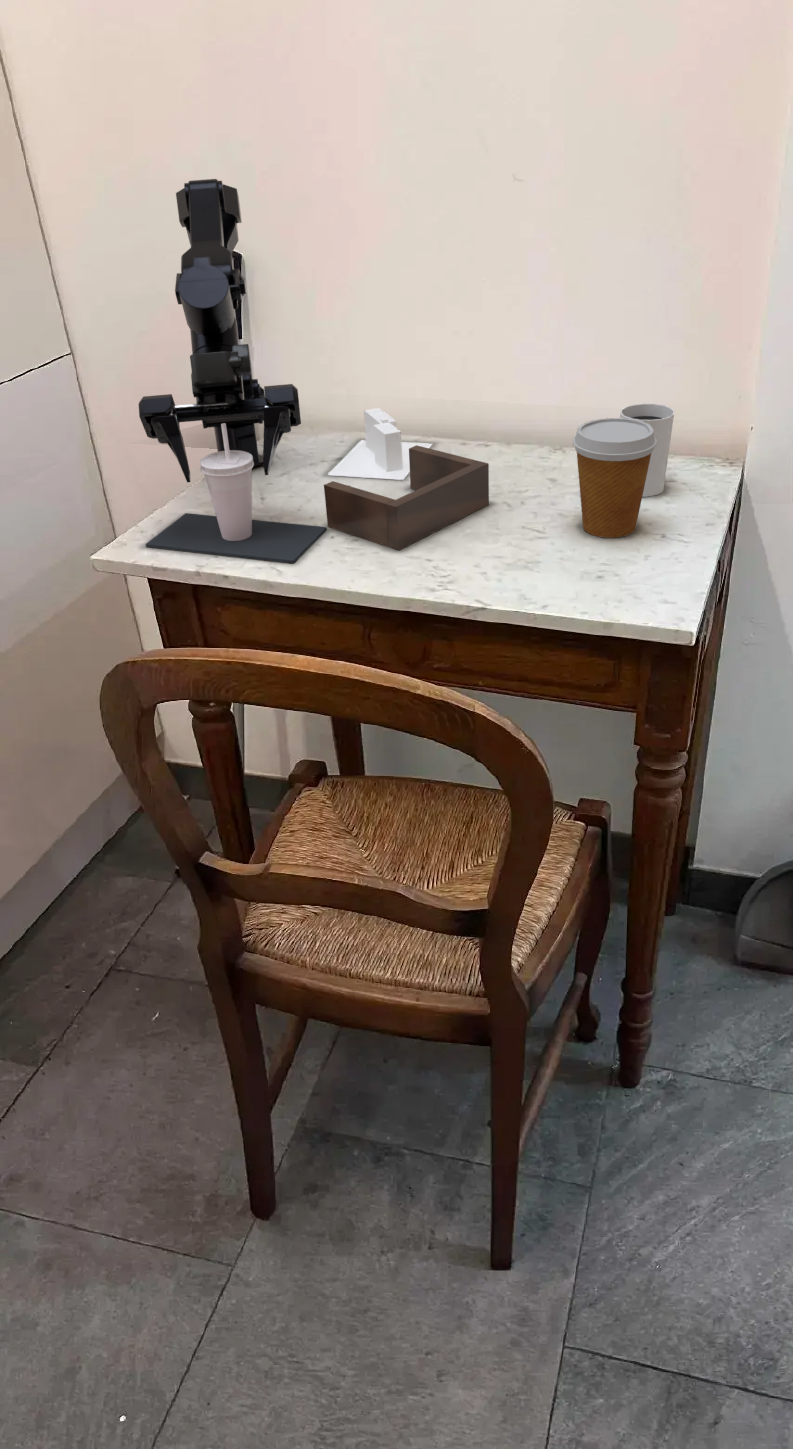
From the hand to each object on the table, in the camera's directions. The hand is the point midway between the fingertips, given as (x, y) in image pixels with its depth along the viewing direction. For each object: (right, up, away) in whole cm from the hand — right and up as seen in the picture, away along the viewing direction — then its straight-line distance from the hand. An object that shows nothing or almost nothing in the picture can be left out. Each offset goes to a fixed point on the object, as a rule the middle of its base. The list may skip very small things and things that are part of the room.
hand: (227, 477), depth 126 cm
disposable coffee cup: (+46, -6, +3) cm, 46 cm away
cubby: (+22, -3, +9) cm, 24 cm away
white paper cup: (+52, +1, +13) cm, 53 cm away
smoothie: (0, -6, +6) cm, 8 cm away
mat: (0, -6, +6) cm, 9 cm away
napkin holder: (+18, +9, +27) cm, 33 cm away
